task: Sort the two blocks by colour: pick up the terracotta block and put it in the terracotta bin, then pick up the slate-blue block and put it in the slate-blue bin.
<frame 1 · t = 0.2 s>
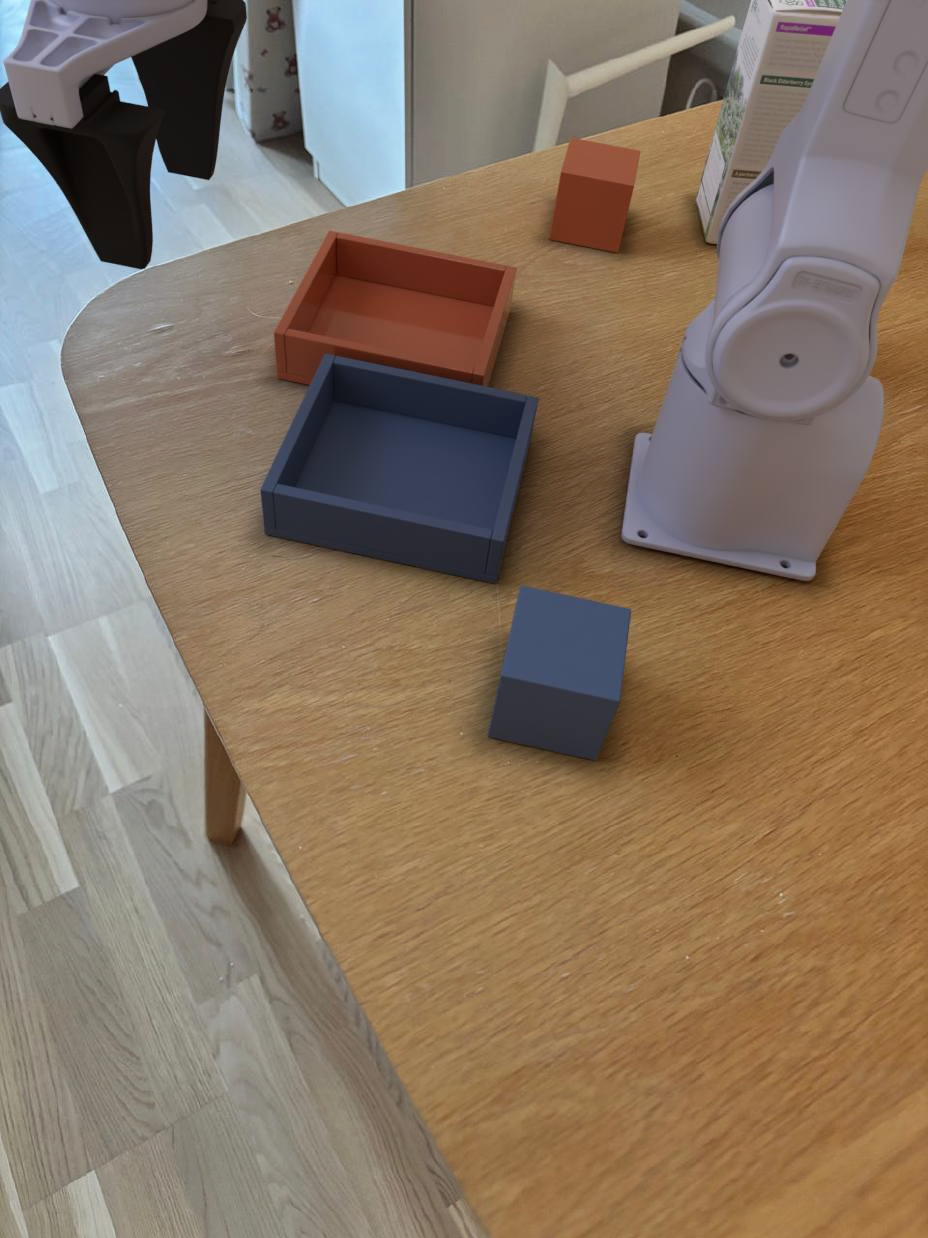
hand: (159, 214, 44), 10 cm above the table, tool pointing down, fingers open, 7 cm apart
terracotta block: (587, 227, 65), on the table
blue bin: (405, 485, 49), on the table
terracotta bin: (399, 343, 56), on the table
syrup box: (736, 228, 67), on the table
blue block: (549, 704, 42), on the table
cork: (779, 359, 58), on the table
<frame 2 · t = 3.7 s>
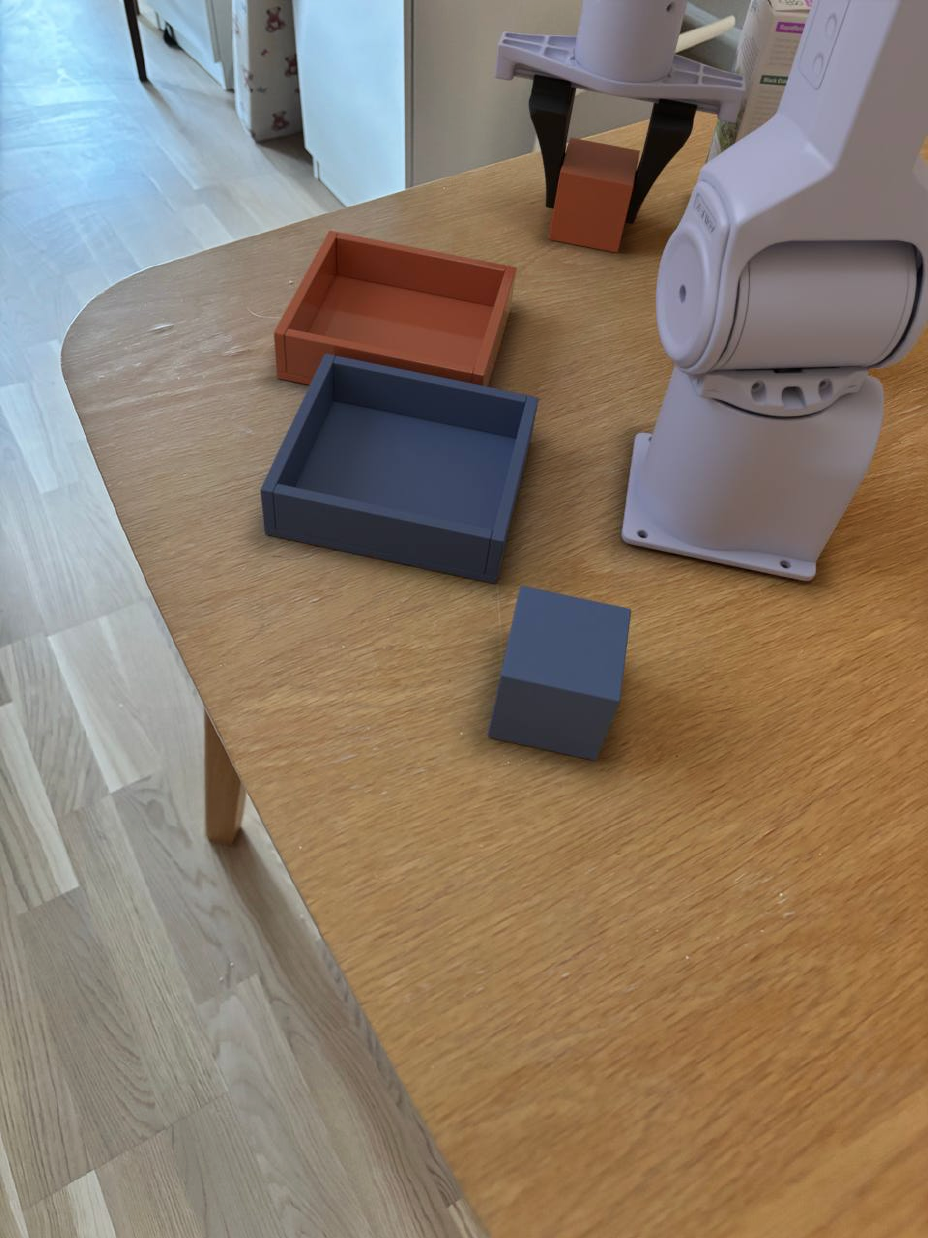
hand: (591, 208, 64), 1 cm above the table, tool pointing down, fingers closed on terracotta block, 4 cm apart
terracotta block: (587, 227, 65), on the table, touching gripper
everything else where it was.
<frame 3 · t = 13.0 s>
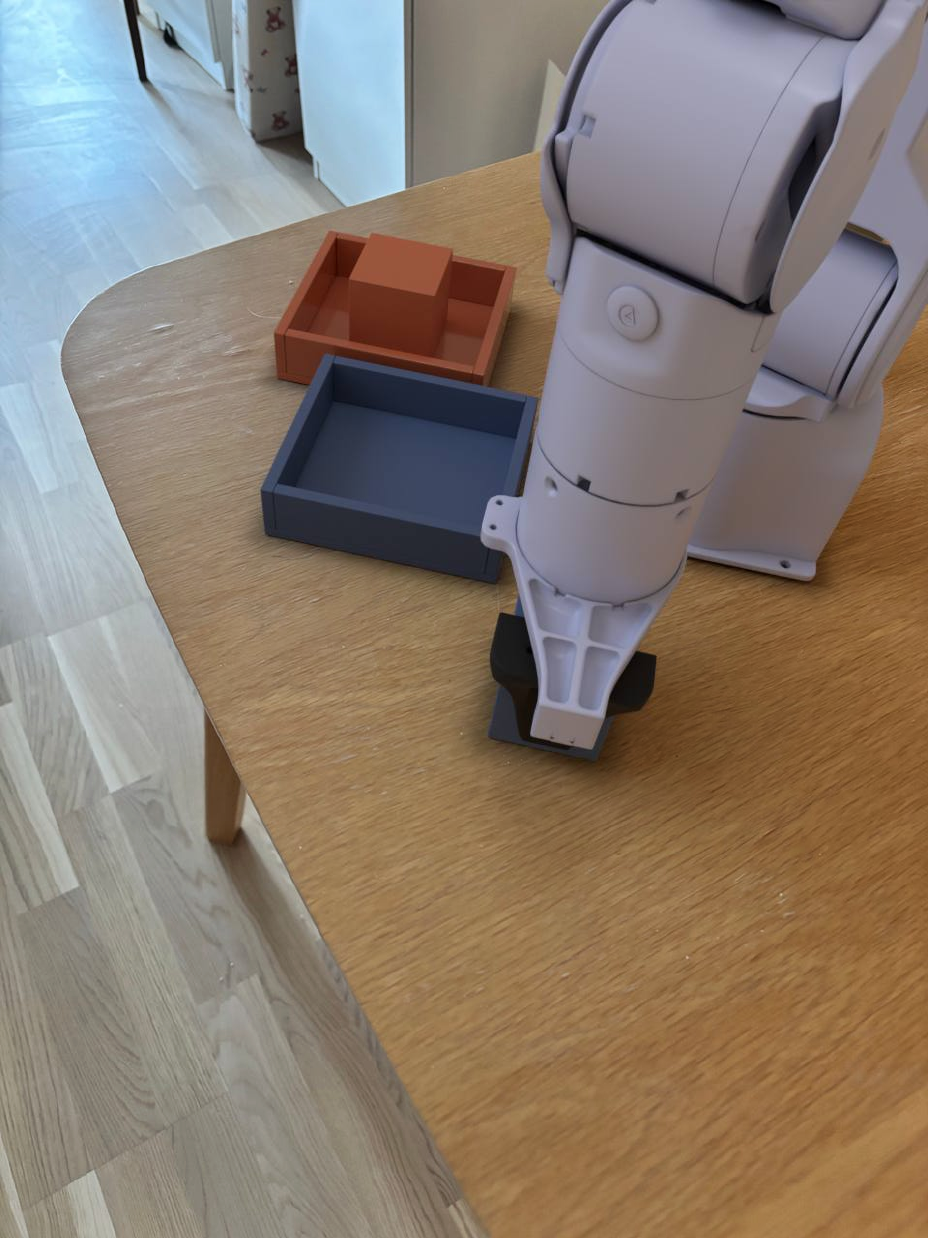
hand: (555, 685, 41), 1 cm above the table, tool pointing down, fingers closed on blue block, 4 cm apart
terracotta block: (398, 335, 55), resting on terracotta bin
blue block: (549, 704, 42), on the table, touching gripper
everything else where it was.
when the fingers open (2 cm above the table, at t = 17.4 s): blue block stays where it is, resting on blue bin.
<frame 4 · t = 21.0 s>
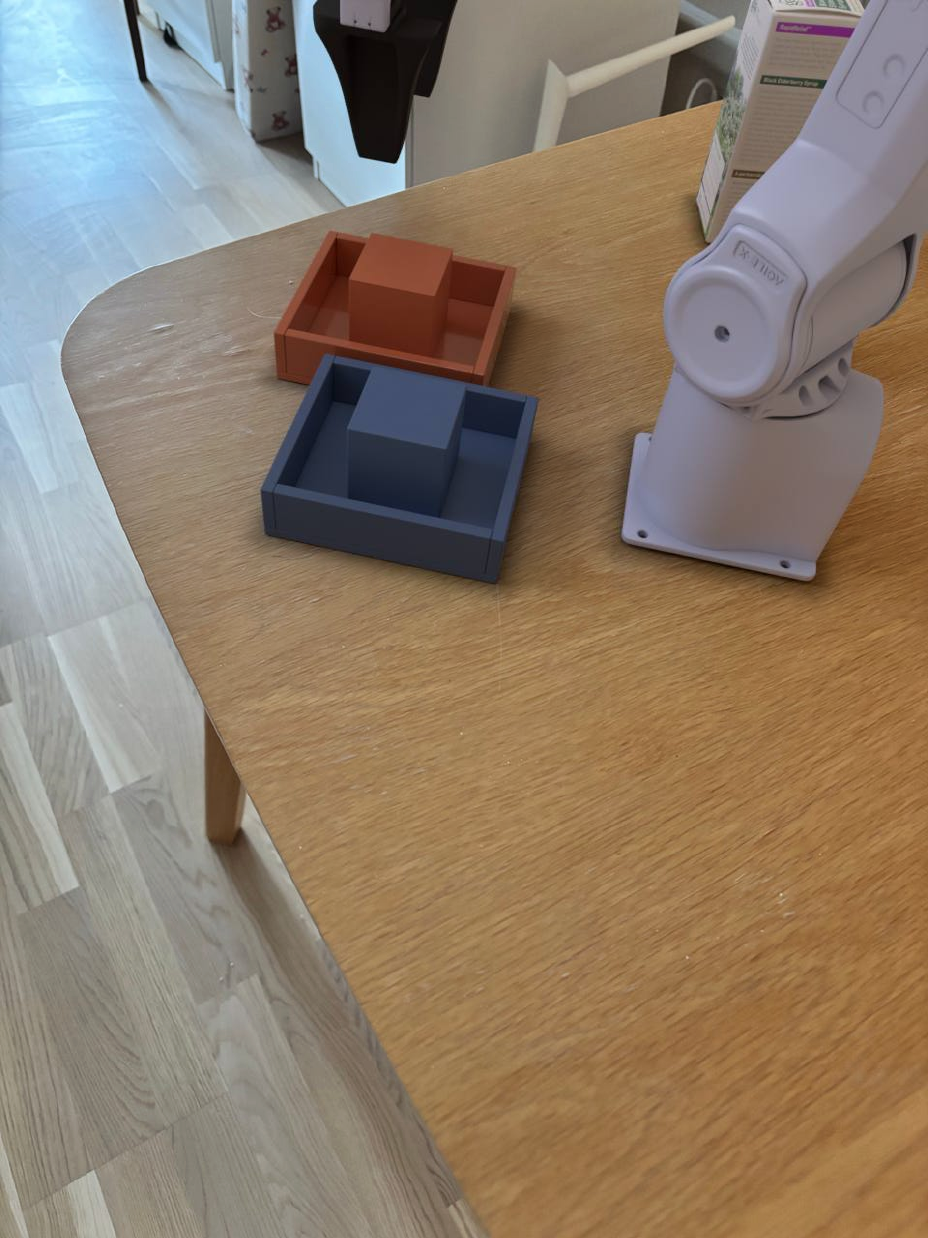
hand: (396, 123, 52), 9 cm above the table, tool pointing down, fingers open, 7 cm apart
blue block: (404, 477, 48), resting on blue bin
everything else where it was.
at the end: terracotta block inside the target area in the terracotta bin (0.1 cm from its centre), point 0.5 cm above the terracotta bin's base; blue block inside the target area in the blue bin (0.1 cm from its centre), point 0.5 cm above the blue bin's base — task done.
